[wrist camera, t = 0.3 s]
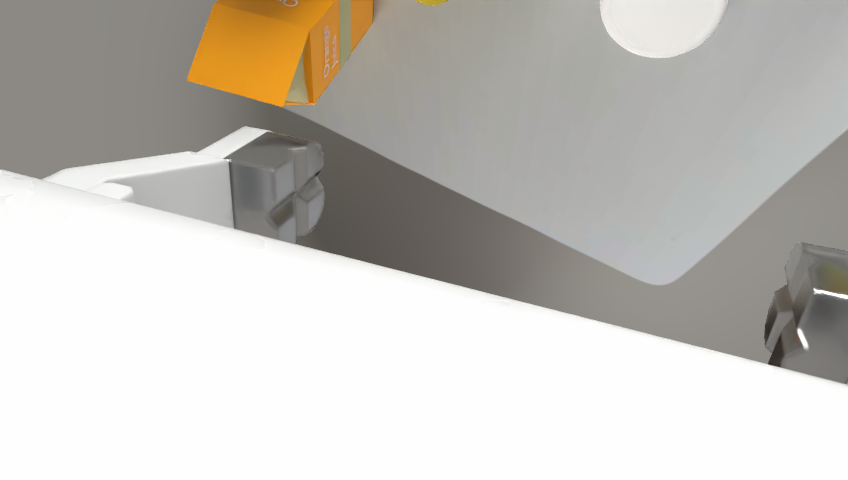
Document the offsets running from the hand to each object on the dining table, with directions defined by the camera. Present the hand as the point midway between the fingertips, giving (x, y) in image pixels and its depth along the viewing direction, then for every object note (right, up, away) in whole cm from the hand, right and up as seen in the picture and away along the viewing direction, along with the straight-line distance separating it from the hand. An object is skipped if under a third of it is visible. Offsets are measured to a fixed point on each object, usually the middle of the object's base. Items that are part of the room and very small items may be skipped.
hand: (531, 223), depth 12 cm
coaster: (+19, +21, +46) cm, 54 cm away
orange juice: (-11, +26, +56) cm, 63 cm away
